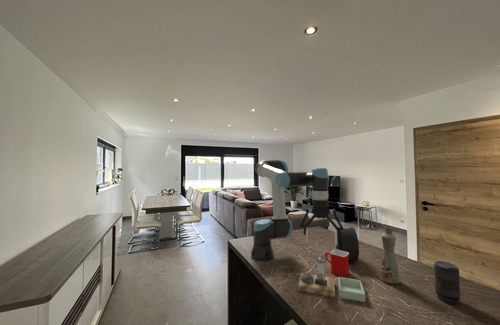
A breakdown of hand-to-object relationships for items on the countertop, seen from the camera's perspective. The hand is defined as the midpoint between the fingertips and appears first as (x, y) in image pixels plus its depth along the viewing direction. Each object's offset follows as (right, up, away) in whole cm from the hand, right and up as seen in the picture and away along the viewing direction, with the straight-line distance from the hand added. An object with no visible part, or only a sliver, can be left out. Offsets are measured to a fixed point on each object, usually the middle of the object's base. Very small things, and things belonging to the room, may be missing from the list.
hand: (321, 242), depth 101 cm
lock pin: (-1, -21, -2) cm, 21 cm away
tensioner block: (-3, -21, -1) cm, 21 cm away
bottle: (+36, -21, +4) cm, 42 cm away
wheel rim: (+26, -23, +30) cm, 46 cm away
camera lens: (+51, -21, -12) cm, 56 cm away
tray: (+11, -21, -6) cm, 24 cm away
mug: (+13, -22, +14) cm, 29 cm away
